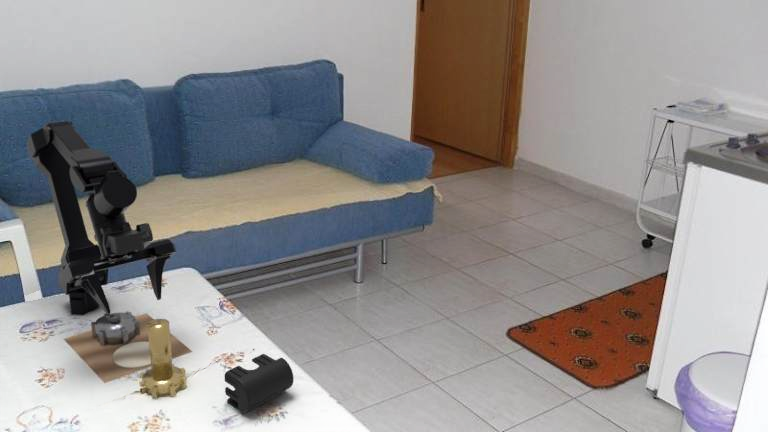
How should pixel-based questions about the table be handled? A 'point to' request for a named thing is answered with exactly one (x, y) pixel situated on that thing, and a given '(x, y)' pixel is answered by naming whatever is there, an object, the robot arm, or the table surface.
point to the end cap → (258, 382)
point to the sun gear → (115, 328)
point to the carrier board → (120, 352)
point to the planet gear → (161, 364)
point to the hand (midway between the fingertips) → (134, 306)
